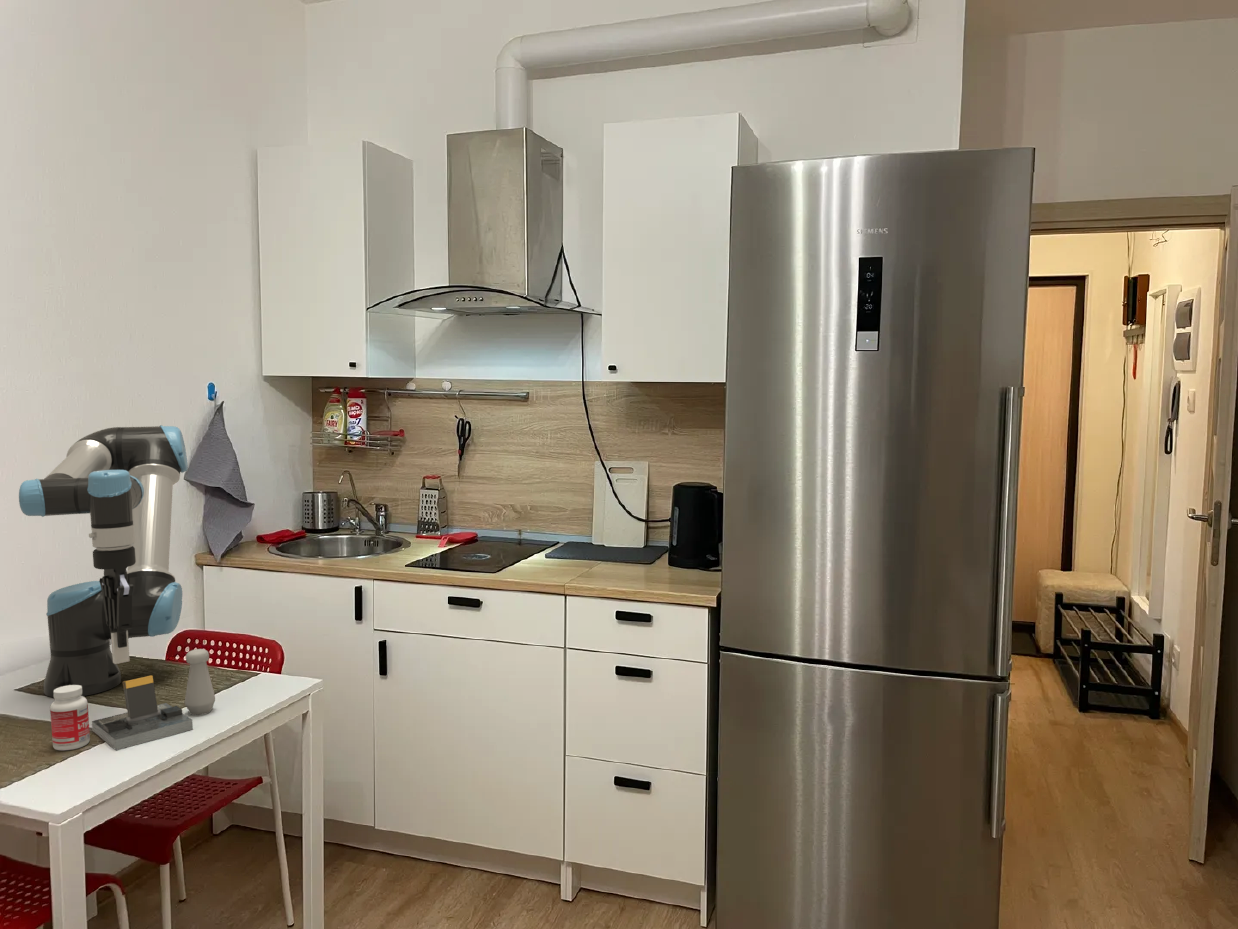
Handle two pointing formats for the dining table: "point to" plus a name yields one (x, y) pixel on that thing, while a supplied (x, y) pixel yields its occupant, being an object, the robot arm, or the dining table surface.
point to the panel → (141, 727)
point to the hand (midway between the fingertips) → (121, 661)
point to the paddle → (140, 699)
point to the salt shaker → (199, 683)
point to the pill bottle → (69, 718)
